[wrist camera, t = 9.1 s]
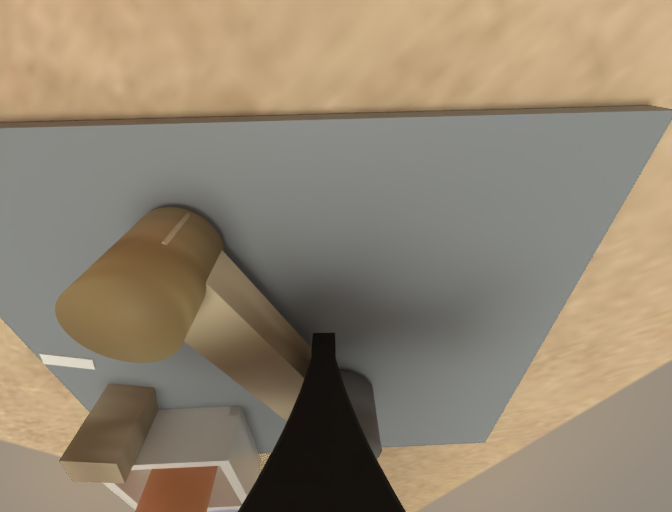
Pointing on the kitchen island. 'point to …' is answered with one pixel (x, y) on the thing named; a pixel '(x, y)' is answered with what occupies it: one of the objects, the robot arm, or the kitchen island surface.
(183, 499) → the pin
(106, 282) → the crank
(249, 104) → the kitchen island surface
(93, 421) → the stop post
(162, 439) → the dish
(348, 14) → the kitchen island surface
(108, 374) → the board
